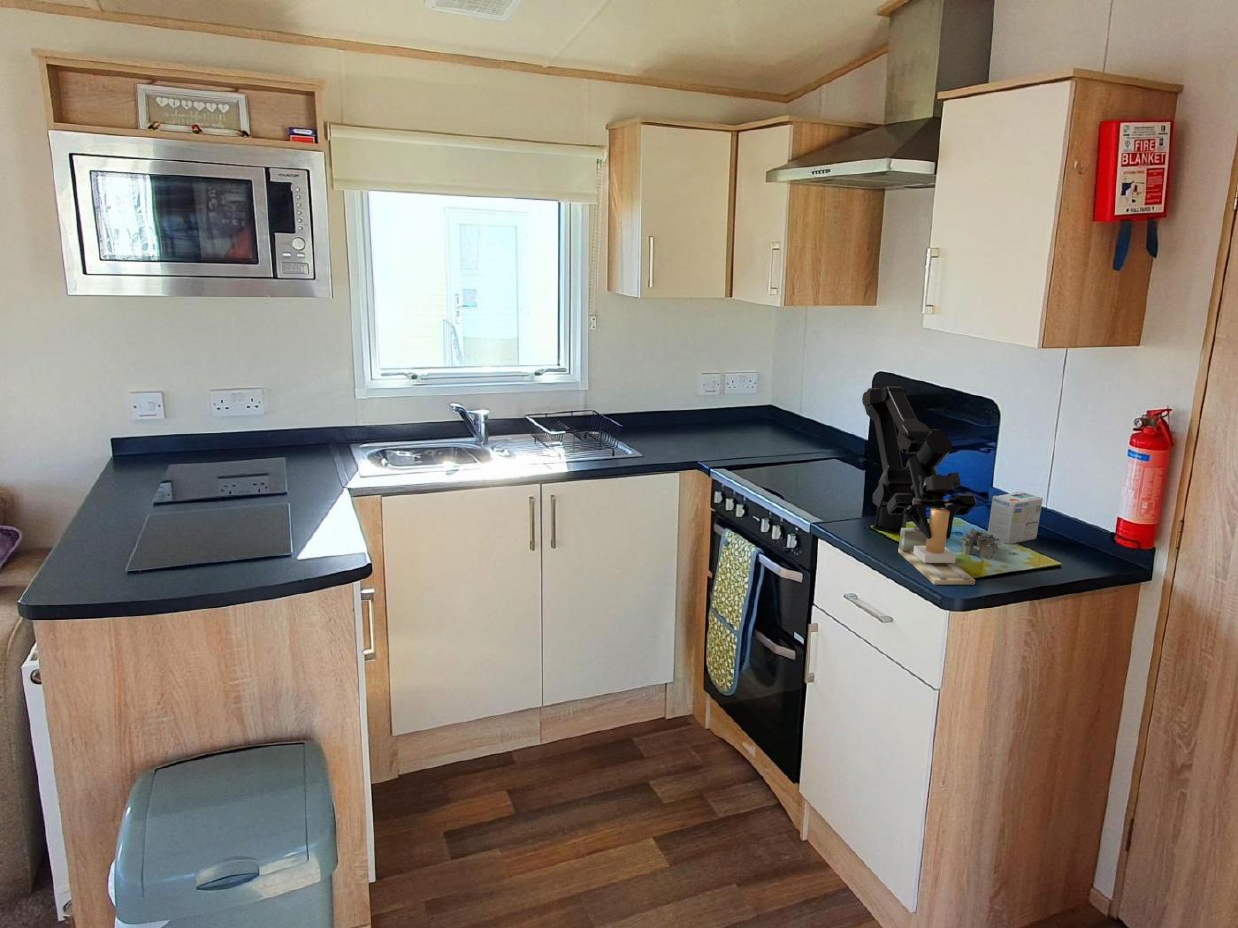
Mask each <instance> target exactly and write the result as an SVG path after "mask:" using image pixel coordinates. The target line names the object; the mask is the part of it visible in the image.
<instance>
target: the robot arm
mask: <svg viewBox="0 0 1238 928" xmlns="http://www.w3.org/2000/svg"><path fill="white" fill-rule="evenodd" d="M861 397H862V398H861V399H862V405H863V407H864V410H865V414H866V415H867V416H868V417H869V418H870V419H871V420H872V421H873V422H874V428H875V433H876V438H877V444H878V449H879V450H878V451H879V454H880V455H879V456H880V461H881V467H882V474H881V477H880V479H879V481H878V486H877V487H876V488H875V490H874V492H872V503H873V504H874V505H875V506H876V516H875V517H876V518H875V524H874V525H872V528H873V529H875V530H879V531H884V532H887V533H892V534H899V533H901V528H907V522H908V521H907V519H908V520H910V521H911V522H912V523H914V526H917V527H918V528H919V529H920V530H921V531H922V532H923V534H924V535H925V536H926V537H927V538H928V539H930V538H931V530H930V527H929V519H928V517H927V509H932V508H941V509H946V510H948V511H950V513H949V521H948V528H947V535H946V540H950V539H951V537H952V530H953V521H954V518H955V516H966V515H968V514H969V513H970V512H971V511H972V510H973V509H974V508H975V506H977V504H978V502H977V500H976V497H975V495H974V494H972V493H956V494H955V495H954V496H953V497H952V498H951V499H950V498H949V499H948V498H947V499H944V497H947V496H948V495H949V491H953V490H955V489H956V488H958V487H960V486H961V484H962V483H961V481H962V480H961V476H960V474H959V472H950V473H949V472H948V473H947V475H946V474H938V471H937V466H940V464H941V463H942V462H943V461H944V459H945V458H946V457H947V456H948V455H949V453H950V452H951V451H952V448H953V443H952V441H951V440H950V438H948V436H946V435H945V434H943V433H941V431H940V429H939V428H938V429H936V428H935V429H930V428H929V426H928V425H926V424H925V423H924V422H922V421H920V420H919V419H918V418H917V417H916V414H915V412H914V410H913V408H912V407H911V404H910V402H909V399H908V398H907V397H906V391H905V388H904V387H902V386H893V385H892V386H889V385H887V386H885V387H881V388H877V387H875V388H873V387H869V388H868V389H867V390H866V391H864V392H863V394H862V396H861ZM896 428H897V429H896ZM897 431H898V435H897ZM901 453H902V454H912V455H911V456H910V457H909V458H908V460H907V462H906V464H905V467H904V465H903V462H902V461H903V460H902V456H901V455H902V454H901ZM954 488H955V489H954Z"/></svg>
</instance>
